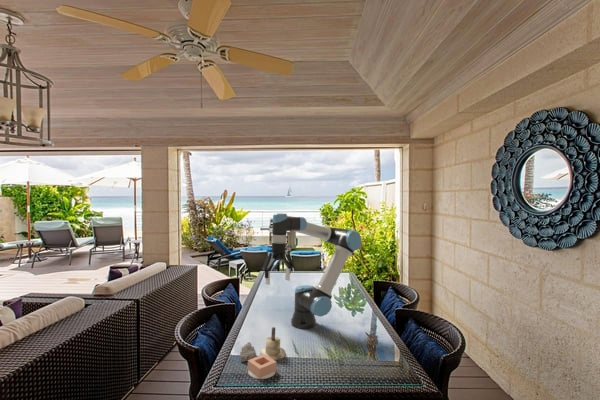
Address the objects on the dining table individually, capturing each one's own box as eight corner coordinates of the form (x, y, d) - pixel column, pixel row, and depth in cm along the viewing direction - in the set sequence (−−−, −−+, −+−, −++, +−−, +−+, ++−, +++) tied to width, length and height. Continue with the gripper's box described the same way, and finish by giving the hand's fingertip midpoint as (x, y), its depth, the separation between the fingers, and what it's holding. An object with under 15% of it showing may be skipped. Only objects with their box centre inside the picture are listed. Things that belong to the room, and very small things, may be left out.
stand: (274, 346, 164) (275, 321, 164) (289, 355, 155) (290, 328, 155) (255, 353, 156) (256, 327, 156) (270, 363, 147) (271, 335, 147)
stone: (239, 363, 146) (240, 351, 146) (238, 353, 156) (238, 341, 156) (257, 361, 148) (257, 349, 148) (254, 352, 158) (255, 340, 158)
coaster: (264, 361, 149) (264, 360, 149) (281, 372, 140) (281, 371, 140) (242, 370, 140) (242, 369, 140) (258, 382, 132) (258, 381, 132)
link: (263, 362, 146) (264, 354, 146) (276, 370, 140) (276, 361, 140) (247, 369, 140) (247, 360, 140) (259, 378, 134) (259, 368, 134)
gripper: (291, 240, 181) (290, 277, 181) (255, 243, 164) (254, 284, 164) (300, 241, 175) (299, 280, 175) (264, 245, 158) (263, 287, 158)
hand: (277, 282), depth 170 cm, fingers open, 13 cm apart
